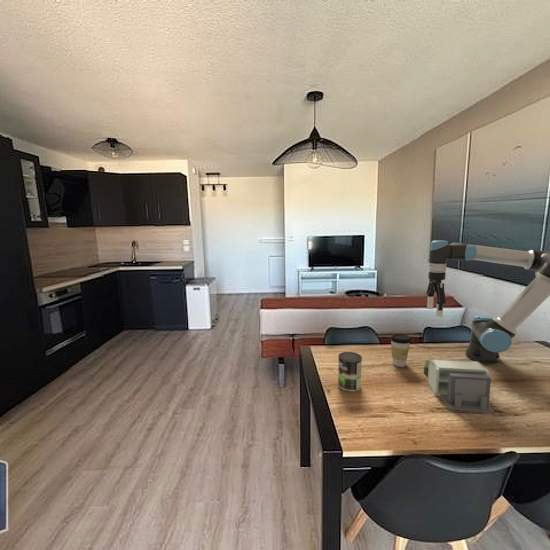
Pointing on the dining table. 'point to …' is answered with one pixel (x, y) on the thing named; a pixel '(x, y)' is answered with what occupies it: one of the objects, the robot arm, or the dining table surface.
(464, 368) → the cabinet
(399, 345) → the coffee cup
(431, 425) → the dining table surface
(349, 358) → the coffee can
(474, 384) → the grey rectangular panel
